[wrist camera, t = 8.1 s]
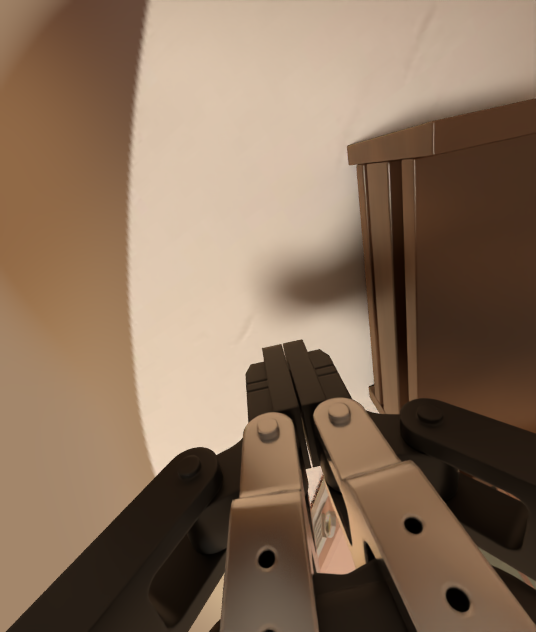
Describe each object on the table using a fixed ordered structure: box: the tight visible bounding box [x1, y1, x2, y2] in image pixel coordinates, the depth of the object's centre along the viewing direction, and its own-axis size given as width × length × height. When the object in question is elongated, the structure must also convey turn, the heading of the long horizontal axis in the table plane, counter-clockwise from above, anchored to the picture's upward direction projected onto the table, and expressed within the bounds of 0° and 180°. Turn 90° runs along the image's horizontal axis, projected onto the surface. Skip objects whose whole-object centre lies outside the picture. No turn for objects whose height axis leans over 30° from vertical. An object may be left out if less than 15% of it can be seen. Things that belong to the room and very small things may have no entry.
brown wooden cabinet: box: [347, 98, 536, 487], centre depth 14 cm, size 14×8×7 cm, turn 11°
